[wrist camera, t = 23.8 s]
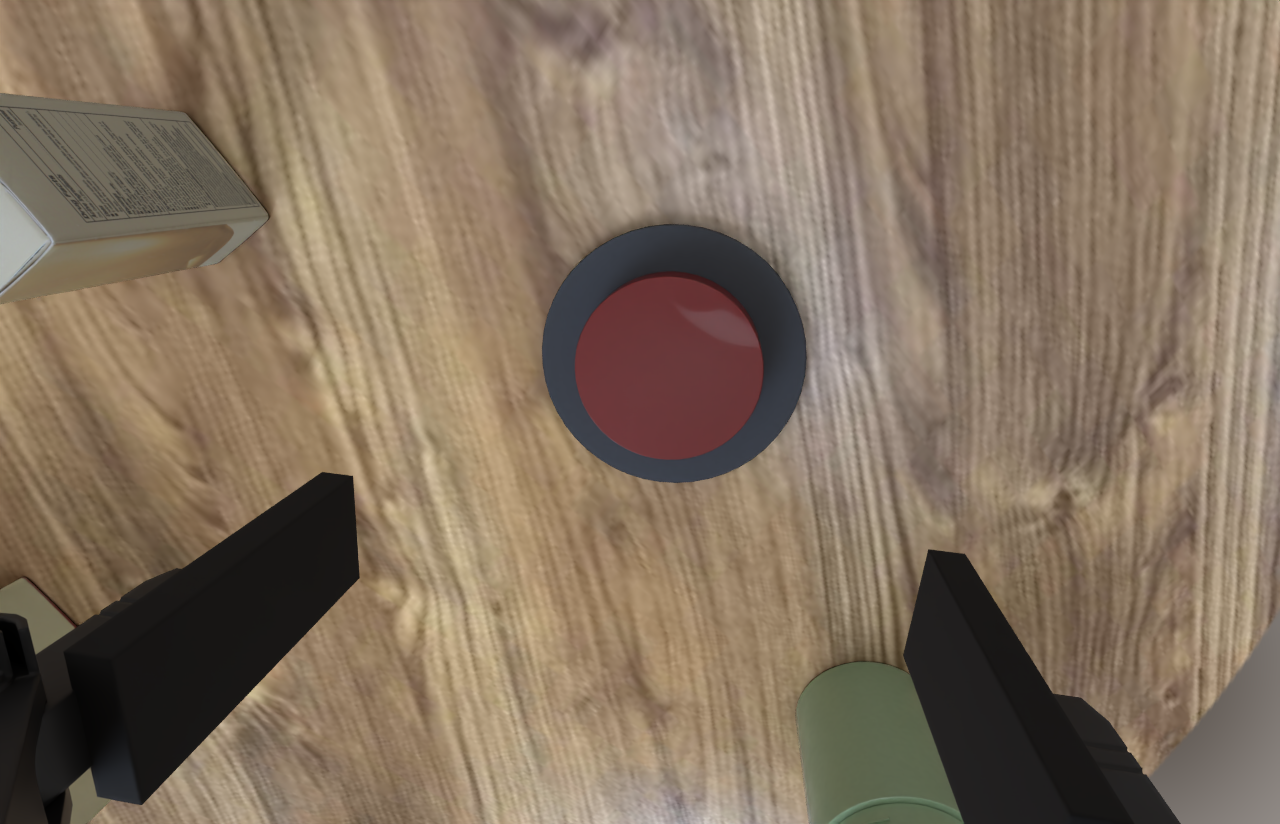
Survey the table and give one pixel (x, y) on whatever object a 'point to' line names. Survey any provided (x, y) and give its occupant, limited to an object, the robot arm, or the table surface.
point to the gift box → (44, 630)
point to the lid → (669, 365)
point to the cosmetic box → (110, 196)
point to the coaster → (712, 261)
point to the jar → (870, 750)
